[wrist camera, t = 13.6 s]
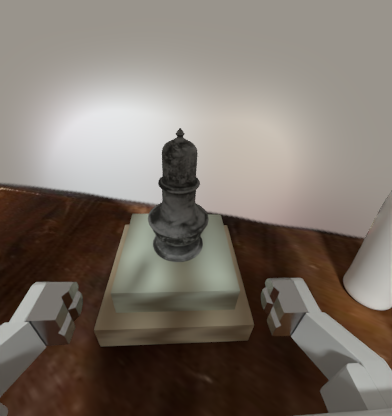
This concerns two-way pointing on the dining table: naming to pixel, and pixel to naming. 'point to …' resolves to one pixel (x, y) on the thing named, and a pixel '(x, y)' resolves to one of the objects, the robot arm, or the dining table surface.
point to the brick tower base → (172, 320)
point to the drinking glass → (373, 264)
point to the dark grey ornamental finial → (178, 204)
